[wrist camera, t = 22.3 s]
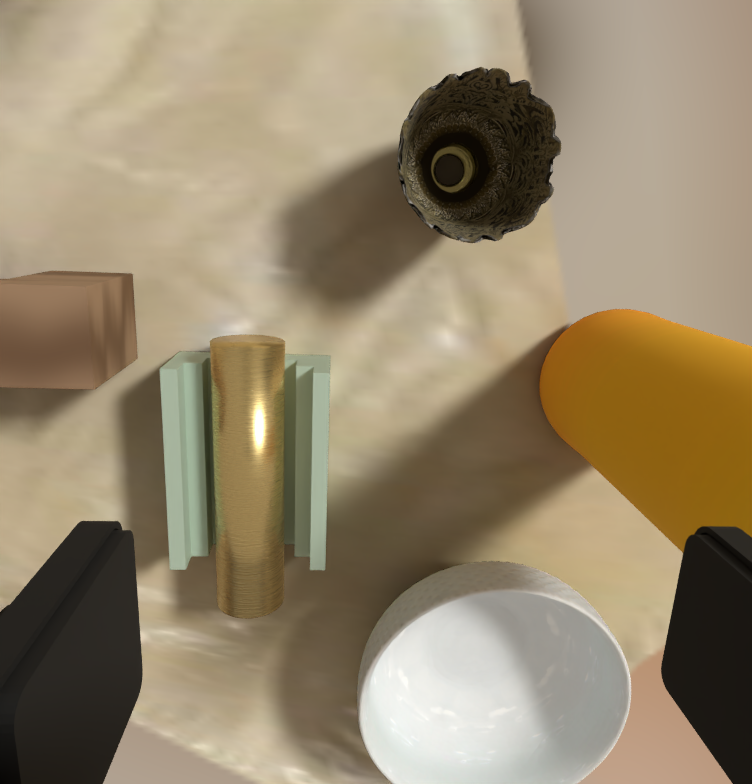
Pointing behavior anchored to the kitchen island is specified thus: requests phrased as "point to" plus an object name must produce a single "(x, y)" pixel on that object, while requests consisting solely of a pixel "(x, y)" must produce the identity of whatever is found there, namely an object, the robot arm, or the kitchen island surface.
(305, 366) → the v block
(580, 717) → the cereal bowl
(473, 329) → the kitchen island surface
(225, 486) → the axle
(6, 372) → the beam
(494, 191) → the cup
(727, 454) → the beer bottle
